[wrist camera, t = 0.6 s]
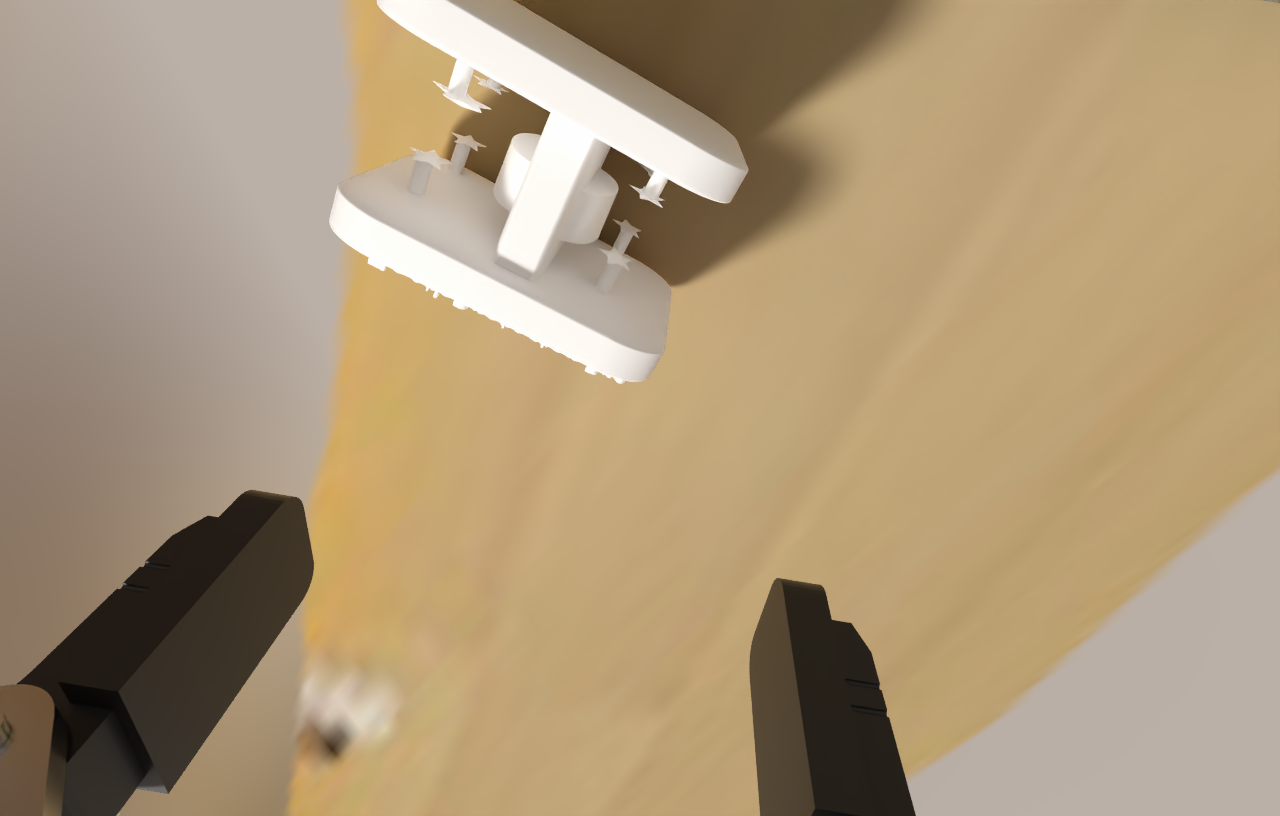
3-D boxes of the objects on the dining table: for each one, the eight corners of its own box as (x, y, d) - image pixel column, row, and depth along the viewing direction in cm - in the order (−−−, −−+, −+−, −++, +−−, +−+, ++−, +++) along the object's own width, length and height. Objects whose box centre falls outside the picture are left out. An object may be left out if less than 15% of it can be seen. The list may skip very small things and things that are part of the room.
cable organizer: (752, 139, 32) (777, 183, 22) (655, 309, 37) (638, 408, 27) (480, -24, 29) (367, -58, 19) (415, 183, 35) (299, 241, 25)
